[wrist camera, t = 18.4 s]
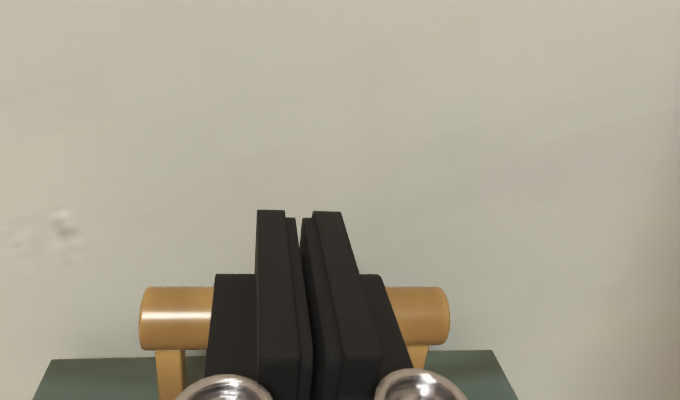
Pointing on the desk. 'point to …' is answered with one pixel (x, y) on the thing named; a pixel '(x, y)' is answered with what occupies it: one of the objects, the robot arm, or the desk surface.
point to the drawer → (192, 333)
